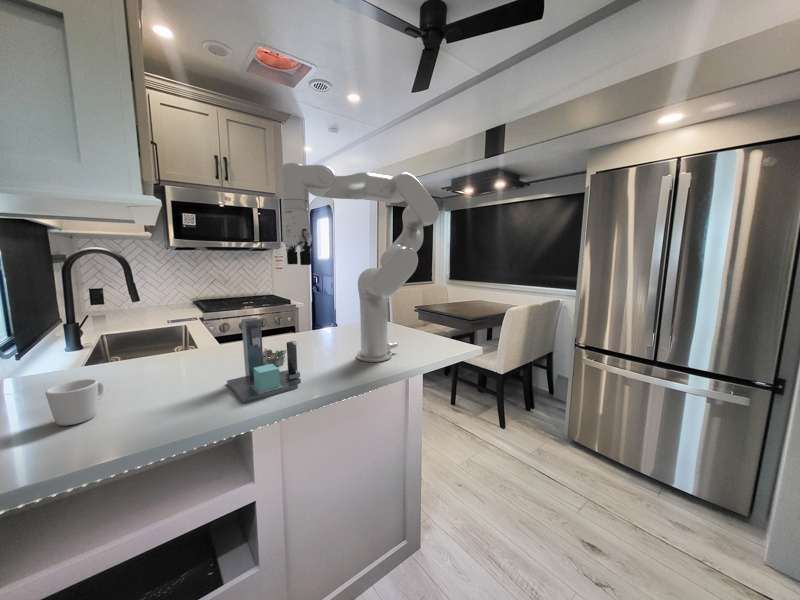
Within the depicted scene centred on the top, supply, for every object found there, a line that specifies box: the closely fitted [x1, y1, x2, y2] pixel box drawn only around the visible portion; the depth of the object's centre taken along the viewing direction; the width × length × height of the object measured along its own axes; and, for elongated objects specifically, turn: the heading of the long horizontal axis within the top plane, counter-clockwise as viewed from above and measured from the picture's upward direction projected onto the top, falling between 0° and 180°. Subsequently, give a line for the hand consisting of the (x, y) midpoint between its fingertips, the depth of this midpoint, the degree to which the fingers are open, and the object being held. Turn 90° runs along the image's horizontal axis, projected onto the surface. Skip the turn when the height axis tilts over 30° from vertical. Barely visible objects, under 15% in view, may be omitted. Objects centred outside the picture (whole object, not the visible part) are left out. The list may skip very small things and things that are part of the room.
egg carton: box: [263, 347, 287, 367], centre depth 108 cm, size 11×8×4 cm
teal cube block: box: [253, 364, 280, 391], centre depth 84 cm, size 5×5×5 cm
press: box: [226, 317, 302, 404], centre depth 87 cm, size 16×16×18 cm
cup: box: [45, 378, 104, 427], centre depth 71 cm, size 11×8×8 cm
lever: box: [286, 340, 301, 380], centre depth 91 cm, size 3×3×10 cm
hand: (299, 264), depth 98 cm, fingers open, 9 cm apart
